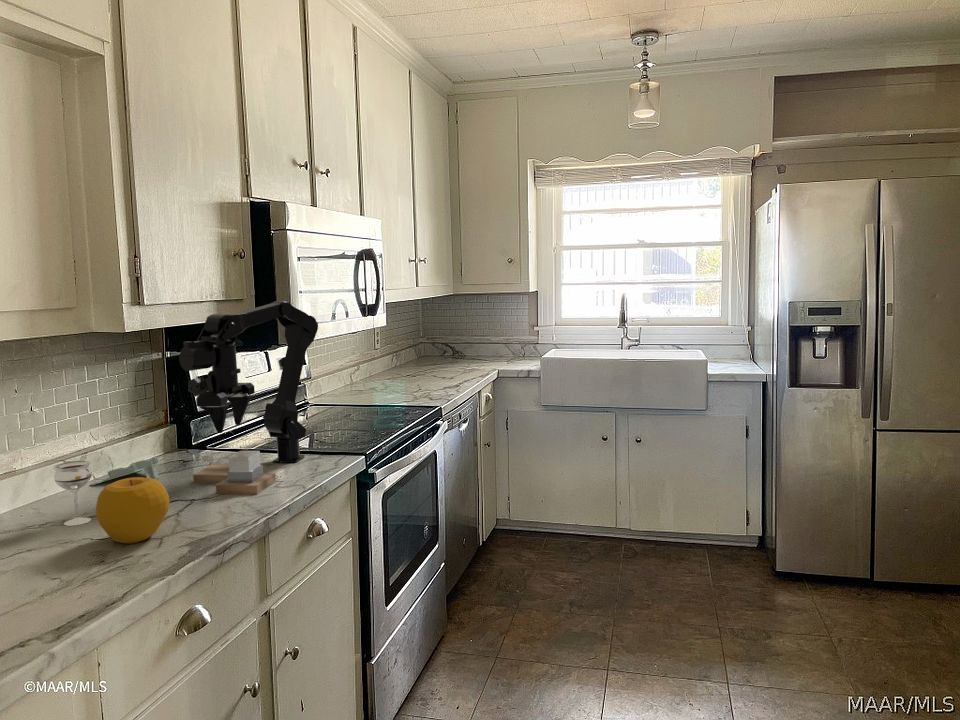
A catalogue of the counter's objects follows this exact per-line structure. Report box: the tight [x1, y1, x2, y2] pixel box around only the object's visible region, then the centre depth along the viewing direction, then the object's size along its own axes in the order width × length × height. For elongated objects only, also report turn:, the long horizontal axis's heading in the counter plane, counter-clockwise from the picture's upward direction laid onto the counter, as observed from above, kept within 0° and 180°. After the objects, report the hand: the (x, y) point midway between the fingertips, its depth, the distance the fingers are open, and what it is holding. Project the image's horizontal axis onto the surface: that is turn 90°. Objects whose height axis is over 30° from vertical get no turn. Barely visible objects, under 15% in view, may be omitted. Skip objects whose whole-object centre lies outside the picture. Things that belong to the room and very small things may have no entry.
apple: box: [95, 476, 171, 545], centre depth 143 cm, size 13×13×11 cm
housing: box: [227, 450, 265, 483], centre depth 175 cm, size 6×6×6 cm
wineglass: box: [53, 460, 92, 527], centre depth 154 cm, size 7×7×12 cm
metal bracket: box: [89, 455, 166, 486], centre depth 186 cm, size 14×6×15 cm
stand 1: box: [192, 463, 229, 484], centre depth 184 cm, size 10×10×2 cm
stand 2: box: [215, 472, 277, 495], centre depth 175 cm, size 10×10×2 cm
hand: (229, 428), depth 184 cm, fingers open, 9 cm apart
